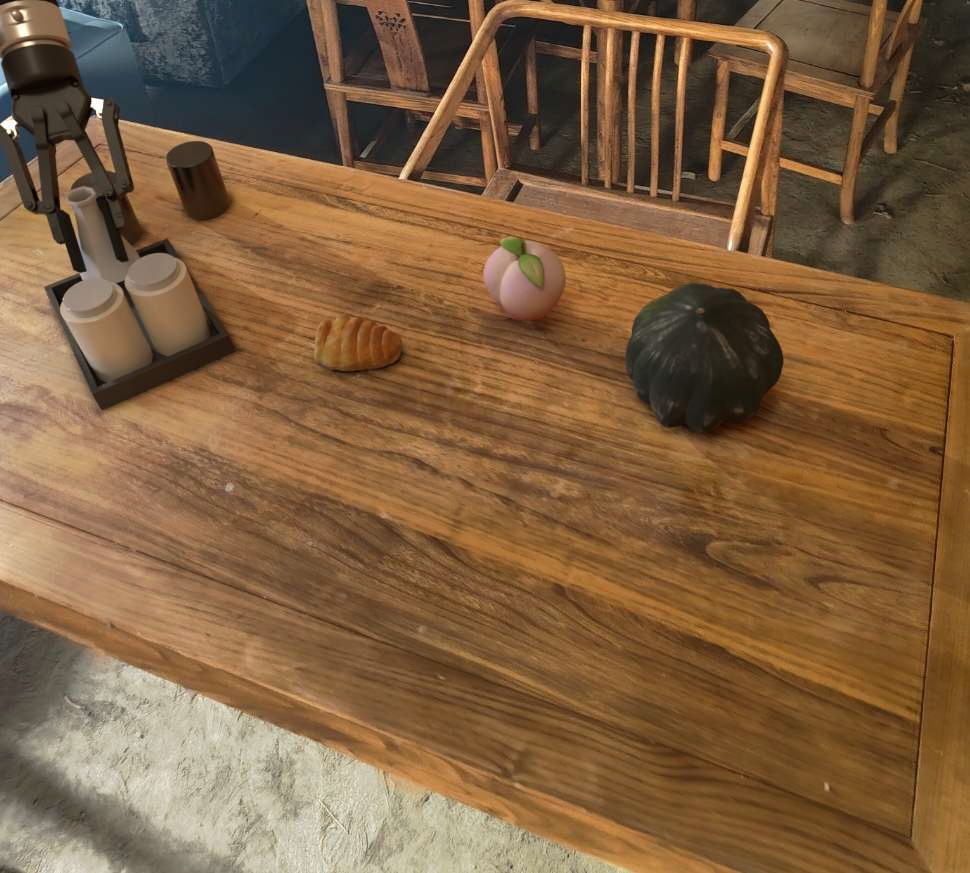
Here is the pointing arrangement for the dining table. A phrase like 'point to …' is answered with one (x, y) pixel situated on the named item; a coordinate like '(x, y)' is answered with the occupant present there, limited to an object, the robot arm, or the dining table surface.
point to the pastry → (355, 344)
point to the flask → (97, 239)
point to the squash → (702, 357)
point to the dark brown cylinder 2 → (198, 180)
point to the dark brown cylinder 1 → (133, 225)
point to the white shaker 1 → (105, 328)
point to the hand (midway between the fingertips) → (101, 264)
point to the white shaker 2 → (167, 303)
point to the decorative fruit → (524, 278)
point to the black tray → (161, 365)
